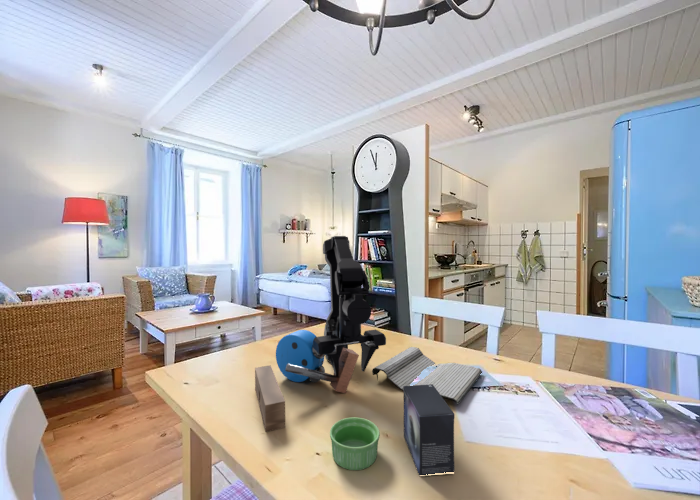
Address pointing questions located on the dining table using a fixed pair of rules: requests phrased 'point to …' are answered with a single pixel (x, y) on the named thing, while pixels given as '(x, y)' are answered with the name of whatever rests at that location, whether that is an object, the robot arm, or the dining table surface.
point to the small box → (428, 429)
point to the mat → (444, 378)
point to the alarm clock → (299, 354)
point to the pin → (337, 382)
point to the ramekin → (354, 443)
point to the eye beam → (269, 398)
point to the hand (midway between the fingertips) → (350, 373)
